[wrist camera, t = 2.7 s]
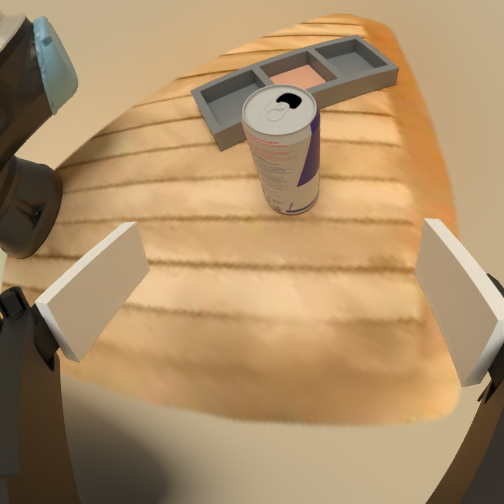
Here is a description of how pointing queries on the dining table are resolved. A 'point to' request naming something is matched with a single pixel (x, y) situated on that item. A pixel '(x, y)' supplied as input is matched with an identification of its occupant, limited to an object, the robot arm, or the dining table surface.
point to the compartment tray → (295, 81)
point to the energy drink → (284, 145)
